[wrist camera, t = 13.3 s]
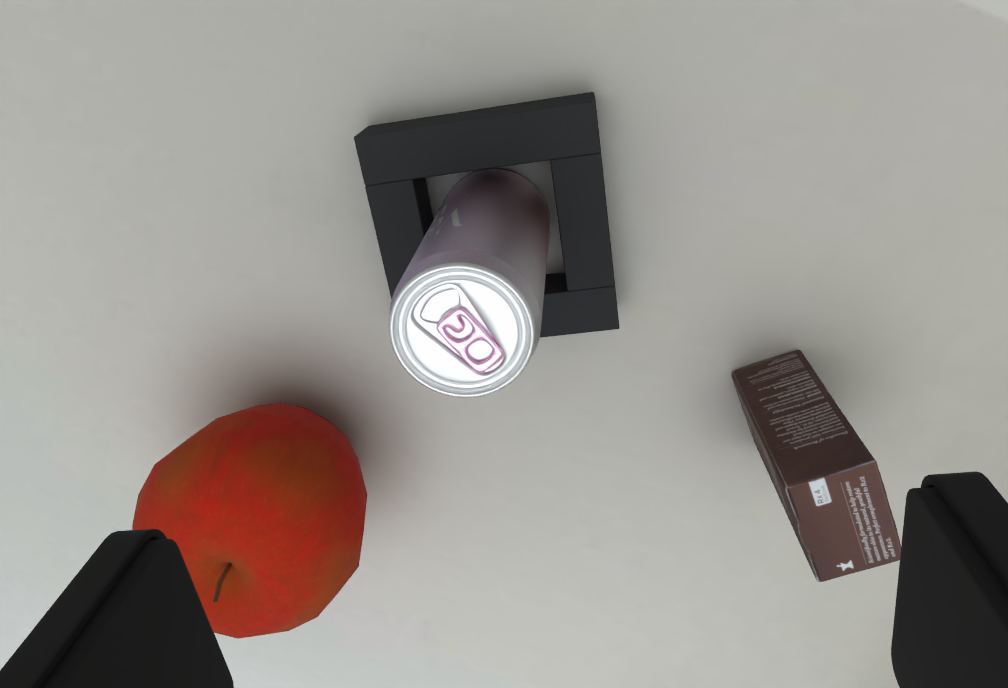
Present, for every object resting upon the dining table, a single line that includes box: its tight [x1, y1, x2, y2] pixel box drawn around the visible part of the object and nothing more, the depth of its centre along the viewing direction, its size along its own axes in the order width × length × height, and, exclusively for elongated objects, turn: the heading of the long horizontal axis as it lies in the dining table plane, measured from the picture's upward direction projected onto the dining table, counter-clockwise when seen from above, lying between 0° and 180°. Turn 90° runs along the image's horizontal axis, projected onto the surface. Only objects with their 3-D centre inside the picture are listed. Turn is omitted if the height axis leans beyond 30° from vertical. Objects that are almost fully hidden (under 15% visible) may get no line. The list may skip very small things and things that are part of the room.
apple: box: [132, 403, 367, 638], centre depth 44 cm, size 12×12×14 cm
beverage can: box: [389, 169, 550, 398], centre depth 36 cm, size 6×6×15 cm
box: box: [732, 350, 901, 582], centre depth 41 cm, size 6×4×12 cm
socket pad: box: [354, 92, 619, 337], centre depth 42 cm, size 12×12×3 cm
